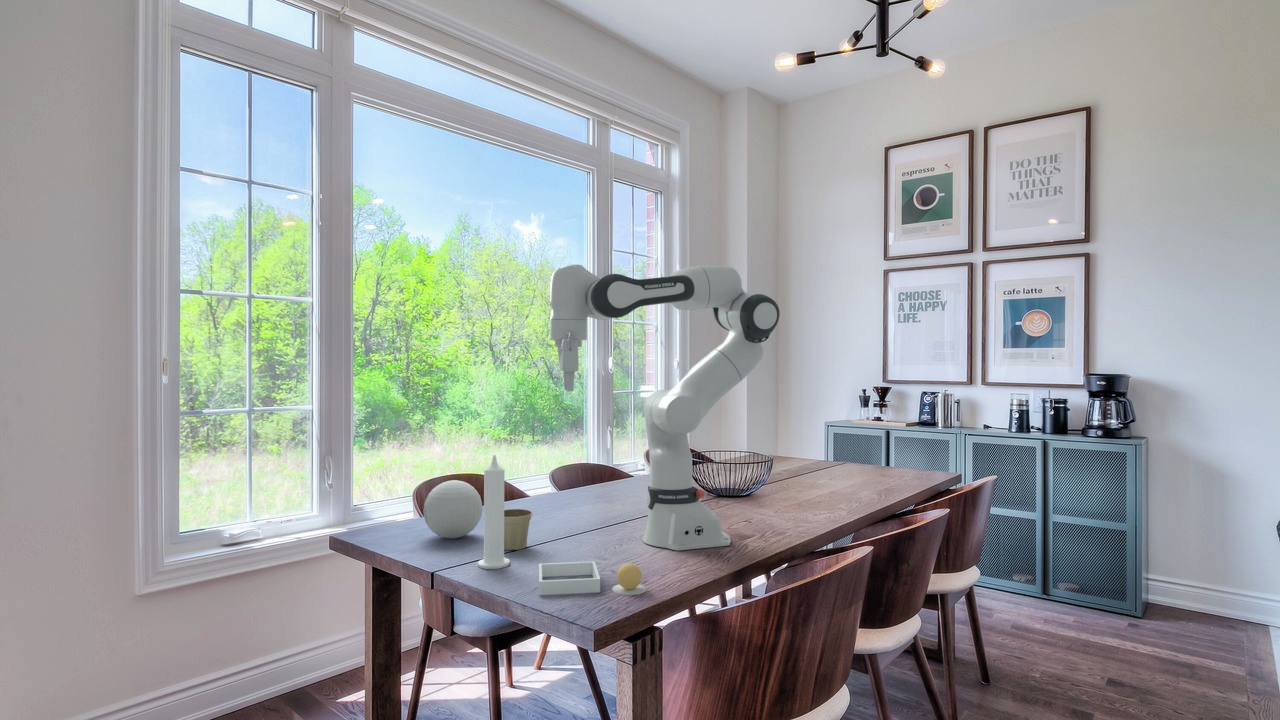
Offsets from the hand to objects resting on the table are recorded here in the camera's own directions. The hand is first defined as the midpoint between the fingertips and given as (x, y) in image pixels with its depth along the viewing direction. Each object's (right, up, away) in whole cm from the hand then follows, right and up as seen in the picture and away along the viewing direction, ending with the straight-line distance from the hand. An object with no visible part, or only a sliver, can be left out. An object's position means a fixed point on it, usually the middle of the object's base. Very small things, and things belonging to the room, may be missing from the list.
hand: (568, 390), depth 159 cm
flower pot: (-15, -40, +7) cm, 43 cm away
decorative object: (-32, -40, +16) cm, 54 cm away
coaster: (+15, -39, -25) cm, 49 cm away
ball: (+15, -39, -25) cm, 48 cm away
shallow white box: (+2, -39, -22) cm, 45 cm away
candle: (-16, -40, -8) cm, 43 cm away
